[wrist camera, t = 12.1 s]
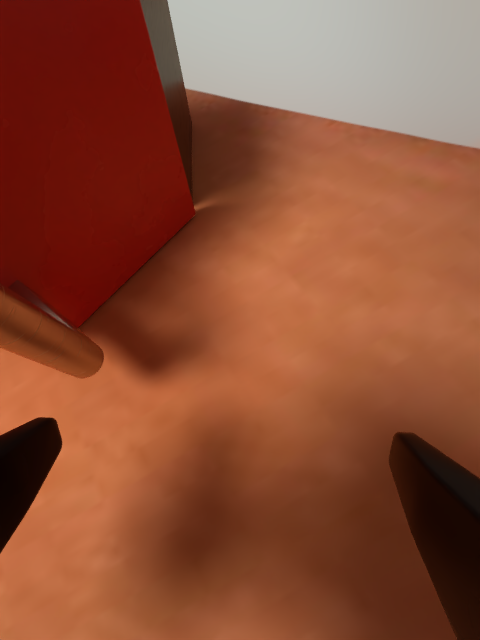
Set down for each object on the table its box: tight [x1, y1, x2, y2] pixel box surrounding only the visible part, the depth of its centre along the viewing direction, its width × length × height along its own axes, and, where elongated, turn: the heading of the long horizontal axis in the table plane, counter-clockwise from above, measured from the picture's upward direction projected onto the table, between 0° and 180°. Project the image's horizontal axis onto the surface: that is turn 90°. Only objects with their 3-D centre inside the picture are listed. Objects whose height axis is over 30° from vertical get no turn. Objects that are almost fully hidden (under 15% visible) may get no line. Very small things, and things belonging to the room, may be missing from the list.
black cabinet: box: [140, 0, 193, 201], centre depth 16 cm, size 10×14×17 cm
